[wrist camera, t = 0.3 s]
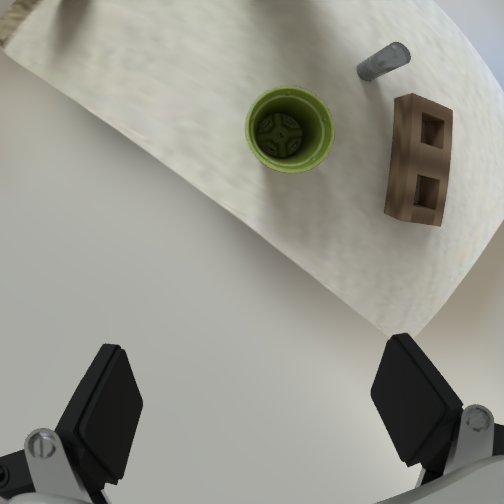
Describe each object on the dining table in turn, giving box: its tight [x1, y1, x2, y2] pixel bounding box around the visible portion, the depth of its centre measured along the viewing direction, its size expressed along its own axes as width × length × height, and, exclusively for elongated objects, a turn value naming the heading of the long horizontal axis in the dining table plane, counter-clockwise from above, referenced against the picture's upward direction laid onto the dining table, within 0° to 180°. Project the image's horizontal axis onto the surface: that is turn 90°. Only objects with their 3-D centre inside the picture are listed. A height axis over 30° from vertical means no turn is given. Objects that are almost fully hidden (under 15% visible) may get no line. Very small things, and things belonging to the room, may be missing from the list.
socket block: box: [384, 93, 453, 227], centre depth 34 cm, size 18×8×5 cm, turn 176°
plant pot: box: [245, 86, 335, 173], centre depth 30 cm, size 9×9×9 cm
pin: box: [357, 42, 411, 81], centre depth 27 cm, size 3×3×10 cm
